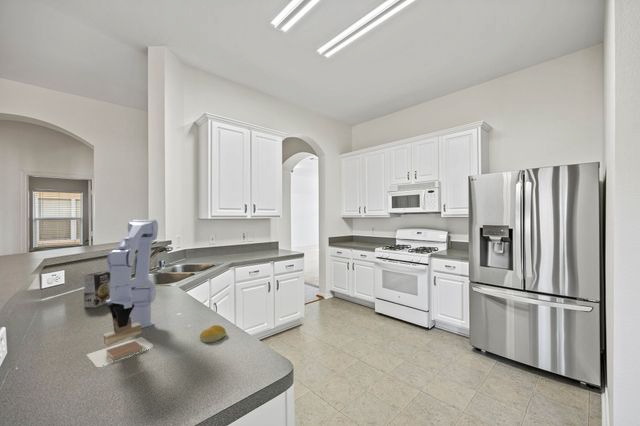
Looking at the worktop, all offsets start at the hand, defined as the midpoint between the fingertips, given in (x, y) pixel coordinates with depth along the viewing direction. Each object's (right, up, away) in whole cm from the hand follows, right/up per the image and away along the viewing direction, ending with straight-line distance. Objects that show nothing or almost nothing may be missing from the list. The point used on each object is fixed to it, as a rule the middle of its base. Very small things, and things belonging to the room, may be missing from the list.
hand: (120, 324), depth 91 cm
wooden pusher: (+1, -5, +1) cm, 5 cm away
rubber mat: (+2, -8, -1) cm, 9 cm away
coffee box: (-46, -9, +45) cm, 65 cm away
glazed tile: (+1, -7, -1) cm, 7 cm away
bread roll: (+28, -9, +9) cm, 31 cm away
